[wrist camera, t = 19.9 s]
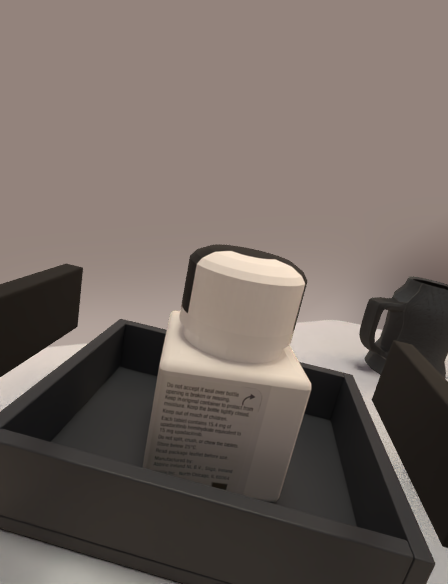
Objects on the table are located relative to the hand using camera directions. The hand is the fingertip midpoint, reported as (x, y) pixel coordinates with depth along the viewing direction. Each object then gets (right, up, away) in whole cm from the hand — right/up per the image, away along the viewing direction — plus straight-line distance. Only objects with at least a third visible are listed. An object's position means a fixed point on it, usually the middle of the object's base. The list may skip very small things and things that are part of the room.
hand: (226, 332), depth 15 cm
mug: (+20, -8, +29) cm, 36 cm away
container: (-1, -9, +8) cm, 12 cm away
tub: (-1, -9, +8) cm, 13 cm away
